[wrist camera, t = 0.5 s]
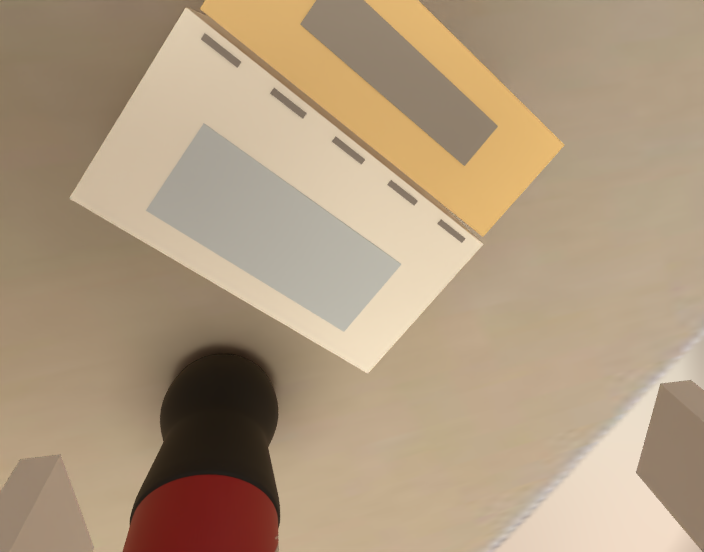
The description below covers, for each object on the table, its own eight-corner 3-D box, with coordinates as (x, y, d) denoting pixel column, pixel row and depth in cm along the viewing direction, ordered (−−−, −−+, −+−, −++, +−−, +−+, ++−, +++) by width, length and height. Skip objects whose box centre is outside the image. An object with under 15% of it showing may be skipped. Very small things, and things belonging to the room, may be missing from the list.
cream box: (124, 154, 32) (68, 198, 23) (211, 17, 30) (185, 6, 21) (344, 296, 39) (368, 374, 30) (430, 193, 36) (483, 244, 27)
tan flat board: (203, 10, 22) (199, 8, 21) (285, -122, 20) (286, -132, 19) (474, 229, 28) (483, 237, 27) (552, 140, 26) (565, 145, 25)
